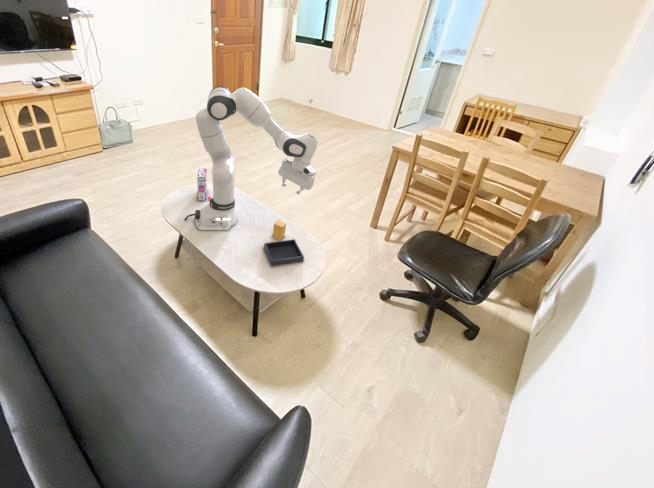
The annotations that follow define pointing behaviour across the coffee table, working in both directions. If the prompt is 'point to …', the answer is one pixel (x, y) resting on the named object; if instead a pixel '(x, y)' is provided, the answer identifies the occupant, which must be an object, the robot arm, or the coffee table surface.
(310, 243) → the coffee table surface
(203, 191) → the candy bar box
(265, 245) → the pan
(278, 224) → the cheese
